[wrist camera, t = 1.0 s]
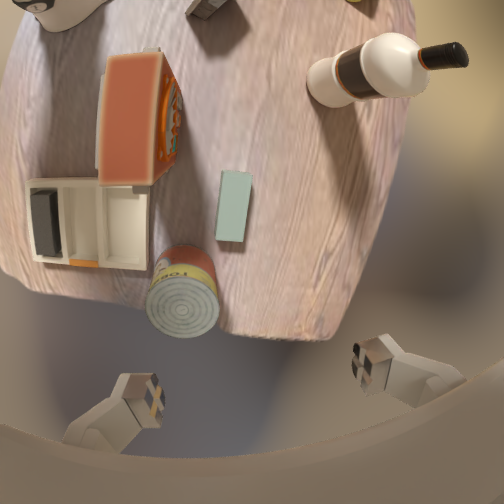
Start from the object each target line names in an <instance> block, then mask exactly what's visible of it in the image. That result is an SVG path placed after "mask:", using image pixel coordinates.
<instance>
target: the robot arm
mask: <svg viewBox="0 0 504 504" xmlns="http://www.w3.org/2000/svg"><path fill="white" fill-rule="evenodd" d="M12 1H13V3H14V4H16V5H17V6H19V7H21V8H22V9H24V10H26V11H29V12H32V13H33V15H34V16H35V17H36V18H37V19H38V20H39V21H40V23H41V24H42V26H43V28H44V29H45V30H47V31H49V32H60V31H64V30H67V29H69V28H71V27H73V26H75V25H77V24H79V23H80V22H82V21H83V20H84V19H86V18H87V17H88V16H89V15H90V14H91V13H92V12H93V11H94V10H95V9H96V8H97V7H98V6H100V5H101V4H102V3H104V2H106V1H107V0H12ZM353 352H354V353H355V356H354V357H353V359H352V370H353V374H354V376H355V378H356V379H357V380H359V381H361V388H362V390H363V391H364V393H365V395H366V396H370V395H373V394H377V393H380V392H383V391H385V392H386V393H388V394H390V395H391V396H393V397H395V398H397V399H399V400H400V401H402V402H404V403H406V404H408V405H410V406H412V407H413V408H415V409H413V410H411V411H409V412H407V413H404V414H402V415H400V416H397V417H395V418H392V419H390V420H387V421H385V422H382V423H379V424H377V425H374V426H371V427H368V428H366V429H362V430H360V431H356V432H353V433H350V434H347V435H344V436H340V437H336V438H333V439H329V440H325V441H321V442H317V443H313V444H309V445H305V446H300V447H295V448H290V449H285V450H279V451H272V452H266V453H259V454H251V455H242V456H231V457H217V458H157V457H142V456H132V455H122V454H119V453H120V452H121V451H122V450H123V449H124V448H125V447H126V445H128V443H129V442H130V441H131V440H132V439H133V438H134V437H135V436H136V435H137V434H138V433H139V431H140V430H141V429H142V428H160V427H161V423H162V418H163V416H162V414H161V411H162V410H163V409H164V408H165V395H164V391H163V389H162V387H160V386H159V385H157V384H158V378H157V376H156V374H154V373H122V374H120V376H119V378H118V380H117V383H116V385H115V387H114V389H113V392H112V394H111V396H110V398H106V399H105V400H103V401H102V402H100V403H99V404H98V405H96V406H95V407H93V408H92V409H91V410H89V411H88V412H86V413H85V414H84V415H82V416H81V417H79V418H78V419H76V420H75V421H74V422H72V423H71V424H70V425H69V427H68V429H67V431H66V433H65V435H64V438H63V440H62V442H61V443H59V442H56V441H52V440H49V439H45V438H42V437H39V436H35V435H33V434H29V433H26V432H24V431H21V430H18V429H16V428H13V427H11V426H8V425H5V424H0V504H504V357H502V358H501V359H500V360H498V361H497V362H496V363H494V364H493V365H491V366H490V367H488V368H487V369H485V370H484V371H482V372H481V373H479V374H478V375H476V376H475V377H473V378H472V379H470V380H469V381H467V380H466V379H465V378H464V377H463V376H462V375H461V374H460V373H459V372H458V371H457V369H456V368H455V367H454V366H451V365H448V364H444V363H441V362H438V361H434V360H431V359H428V358H425V357H421V356H418V355H415V354H411V353H405V352H404V351H403V350H402V349H401V348H400V347H399V345H397V343H396V342H395V341H394V340H393V339H392V338H391V337H390V336H389V335H388V334H383V335H380V336H377V337H374V338H371V339H368V340H364V341H360V342H357V343H355V344H354V346H353Z"/></svg>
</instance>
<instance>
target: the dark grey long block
mask: <svg viewBox="0 0 504 504" xmlns="http://www.w3.org/2000/svg"><path fill="white" fill-rule="evenodd" d="M30 205H31V217H32V227H33V235H34V243H35V249H36V255H47V256H55V255H56V254H57V253H58V252H59V251H60V250H61V249H62V245H61V236H60V226H59V212H58V190H41V191H38V192H36V193H34V194H32V195H30Z"/></svg>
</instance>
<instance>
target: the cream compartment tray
mask: <svg viewBox="0 0 504 504" xmlns="http://www.w3.org/2000/svg"><path fill="white" fill-rule="evenodd" d="M41 190H58V212H59V226H60V236H61V245H62V249H61V250H60V251H59V252H58V253H57V254H56V255H55V256H47V255H36V249H35V243H34V235H33V227H32V217H31V205H30V195H32V194H34V193H36V192H38V191H41ZM25 192H26V208H27V219H28V228H29V236H30V243H31V250H32V256H33V261H38V262H48V263H58V264H69V265H71V266H83V267H94V268H98V267H104V268H117V269H131V270H145V271H146V270H147V267H148V264H149V205H150V191H149V194H142V195H134V194H133V191H132V186H111V187H100V186H99V184H98V177H60V178H34V179H31V180H28V181H25Z"/></svg>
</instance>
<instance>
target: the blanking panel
mask: <svg viewBox="0 0 504 504" xmlns="http://www.w3.org/2000/svg"><path fill="white" fill-rule="evenodd" d="M252 177H253V175H251V174H250V173H248V172H240V171H231V170H222V172H221V180H220V188H219V196H218V204H217V213H216V221H215V230H214V234H215V240H222V241H236V242H243V237H244V230H245V224H246V217H247V210H248V204H249V197H250V190H251V184H252Z"/></svg>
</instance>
